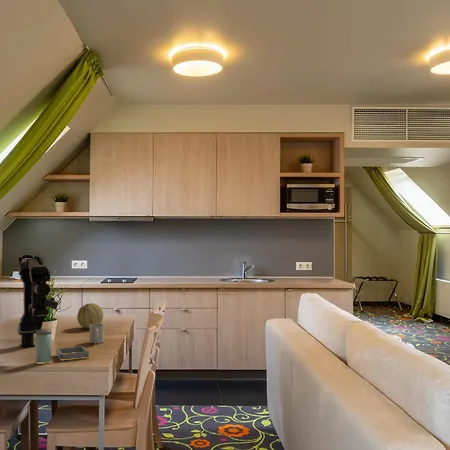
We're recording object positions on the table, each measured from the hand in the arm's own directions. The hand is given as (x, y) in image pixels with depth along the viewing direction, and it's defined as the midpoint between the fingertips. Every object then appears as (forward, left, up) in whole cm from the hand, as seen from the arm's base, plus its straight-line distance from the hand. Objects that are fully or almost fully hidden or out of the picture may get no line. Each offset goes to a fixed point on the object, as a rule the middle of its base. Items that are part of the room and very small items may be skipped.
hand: (38, 328), depth 219 cm
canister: (+11, +1, -13) cm, 17 cm away
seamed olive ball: (-54, +35, -13) cm, 66 cm away
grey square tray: (+6, +14, -13) cm, 20 cm away
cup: (-16, +30, -13) cm, 36 cm away
